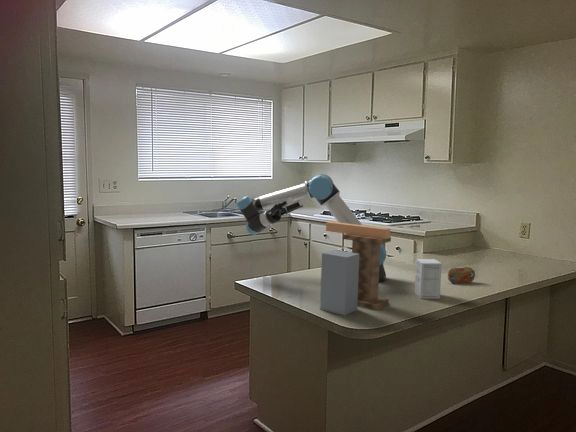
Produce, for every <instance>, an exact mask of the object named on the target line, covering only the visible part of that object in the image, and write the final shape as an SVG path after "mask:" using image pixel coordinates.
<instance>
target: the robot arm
mask: <svg viewBox="0 0 576 432" xmlns="http://www.w3.org/2000/svg"><path fill="white" fill-rule="evenodd" d="M313 198H314V199H315V200H316V201H317V202H318V203H319V204H320V206H321V207H325V208H326V209H327V210H328V211H329V212H330V214H331V216H332V217H334V218H335V220H336V222H340V223H348V224H356V225H363V224H362V222H361V221H360V220H359V219H358V218H357V216H356V215H355V214H354V212H353V211H352V210H351V209H350V207H349V205H348V204H347V203H346V202H345V201H344V200H343V199H342V197H341V196H340V190H339V189H338V187H337V186H336V185H335V184H334V181H333V179H332V178H331V176H329V175H327V174H317V175H315V176H313V177H312V178H311V179H307V180H305V181H304V183H300V184H297V185H294V186H290V187H287V188H284V189H281V190H277V191H274V192H271V193H267V194H265V195H261V196H258V197H253V198H250V196H249V195H246V196H244V197H242V198H241V199H239V200H238V201H237V202H236V205H237V207H238V209H239V210H240V212H241V213H242V215H243V217H244V218H245V220H246V222H247V223H246V226H245V227H246V231H247V232H248V233H249V234H250V235H253V236H256V235H258V234H259V233H261V232H263V231H264V230H266V229H268V228H271V226H272V225H275V224H276V223H278V222H280V221H281V219H282V216H284V215H288V214H290V213H292V212H294V211H296V210H298V209H300V208H303V207H304V205H306V204H307V203H309V202H310V201H311V199H313ZM295 201H297V202H295ZM294 202H295V203H294ZM262 211H263V212H262ZM260 212H262V213H261V214H260ZM386 258H387V250H386V249H385V243H383V244H381V245H380V266H379V283H380V282H381V283H382V282H385V281H387V274H386V270H385V266H384V262H385V261H386Z"/></svg>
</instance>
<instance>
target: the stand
mask: <svg viewBox="0 0 576 432" xmlns="http://www.w3.org/2000/svg"><path fill="white" fill-rule="evenodd" d="M342 239H343V240H347V241H351V243H352V244H351V247H352V248H351V252H352V253H358V254H359V276H358V299H357V307H362V308H365V309H370V310H373V309H374V311H376V309H377V310H379V309H380V308H382V307H385V306H387V305H389V302H390V299H389V298H385V297H381V296H380V297H379V283H380V282H379V266H380V245H381V244H383V243H384V244H385V243H386V244H387V243H390V242H391V240H392V237H391V236H390V238H388V239H382V238H374V237H367V236H360V235H352V234H345V233H342ZM378 308H379V309H378Z"/></svg>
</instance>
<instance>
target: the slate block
mask: <svg viewBox="0 0 576 432" xmlns="http://www.w3.org/2000/svg"><path fill="white" fill-rule="evenodd" d="M320 271H321V272H320V296H319V297H320V299H319V301H320V303H319V309H320V310H322V311H326V312H330V313H333V314H337V315H341V316H347V315H349V314H351V313H353V312H355V311H357V310H358V306H357V299H358V276H359V254H358V253H352V251H346V250H345V251H344V250H338V249H333V250H329V251H325V252H322V253H321V270H320Z"/></svg>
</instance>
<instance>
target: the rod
mask: <svg viewBox="0 0 576 432" xmlns="http://www.w3.org/2000/svg"><path fill="white" fill-rule="evenodd" d="M325 232H330V233H332V232H333V233H339V234H352V235H360V236H367V237H374V238H382V239H388V238H390V237H391V228H388V227H381V226H380V227H379V226H370V225H364V224H362V225H356V224H348V223H340V222H338V221H326V223H325Z"/></svg>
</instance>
